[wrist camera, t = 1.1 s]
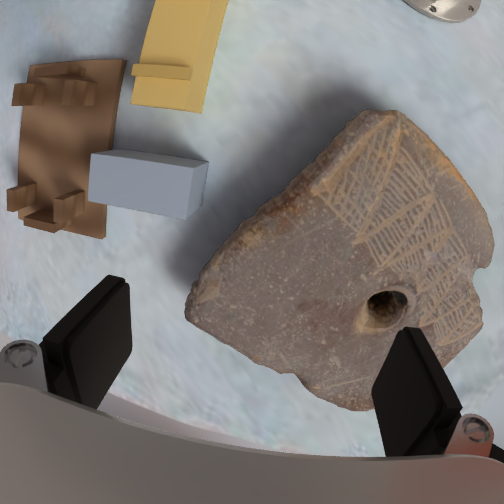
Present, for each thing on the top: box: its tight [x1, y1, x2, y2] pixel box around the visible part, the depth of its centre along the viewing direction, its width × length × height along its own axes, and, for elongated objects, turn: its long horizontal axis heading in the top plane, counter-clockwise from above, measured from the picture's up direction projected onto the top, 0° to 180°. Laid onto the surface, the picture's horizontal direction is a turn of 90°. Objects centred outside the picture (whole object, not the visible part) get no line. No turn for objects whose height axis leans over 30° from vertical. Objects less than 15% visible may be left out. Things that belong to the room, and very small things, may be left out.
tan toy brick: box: [131, 0, 229, 113], centre depth 24 cm, size 14×5×7 cm, turn 168°
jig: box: [7, 59, 126, 239], centre depth 29 cm, size 20×14×6 cm
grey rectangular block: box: [88, 149, 209, 220], centre depth 29 cm, size 4×10×6 cm, turn 79°
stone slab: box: [184, 110, 494, 411], centre depth 32 cm, size 31×29×6 cm
